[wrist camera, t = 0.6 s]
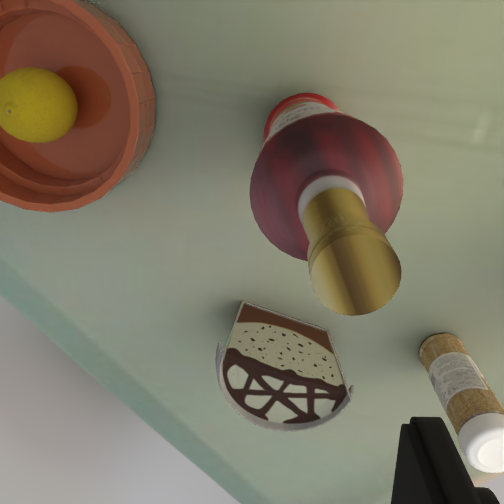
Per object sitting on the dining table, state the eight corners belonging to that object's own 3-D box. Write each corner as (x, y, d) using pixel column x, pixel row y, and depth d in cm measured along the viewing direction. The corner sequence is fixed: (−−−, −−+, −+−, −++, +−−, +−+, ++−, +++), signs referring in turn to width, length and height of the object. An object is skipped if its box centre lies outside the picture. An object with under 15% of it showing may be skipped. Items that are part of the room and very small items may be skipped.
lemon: (16, 105, 39) (-45, 115, 32) (48, 51, 37) (-8, 49, 30) (70, 147, 40) (24, 167, 33) (104, 97, 39) (64, 106, 31)
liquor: (279, 188, 41) (284, 402, 16) (248, 109, 39) (192, 210, 13) (358, 157, 40) (506, 338, 14) (330, 74, 37) (451, 108, 12)
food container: (209, 343, 48) (193, 410, 39) (228, 295, 46) (215, 355, 37) (317, 379, 49) (327, 453, 40) (341, 334, 47) (357, 402, 38)
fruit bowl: (-47, -19, 36) (-100, -32, 31) (158, 4, 36) (139, -6, 31) (-20, 183, 43) (-61, 199, 37) (154, 203, 42) (138, 222, 37)
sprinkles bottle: (460, 367, 48) (524, 475, 35) (415, 368, 48) (463, 476, 36) (465, 330, 46) (534, 429, 34) (418, 331, 46) (470, 430, 34)
